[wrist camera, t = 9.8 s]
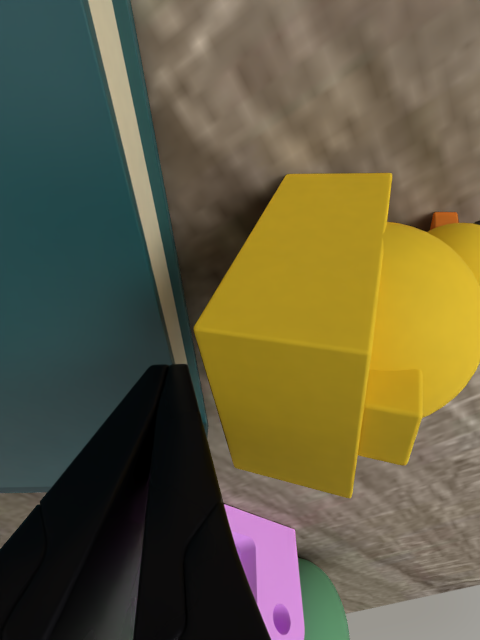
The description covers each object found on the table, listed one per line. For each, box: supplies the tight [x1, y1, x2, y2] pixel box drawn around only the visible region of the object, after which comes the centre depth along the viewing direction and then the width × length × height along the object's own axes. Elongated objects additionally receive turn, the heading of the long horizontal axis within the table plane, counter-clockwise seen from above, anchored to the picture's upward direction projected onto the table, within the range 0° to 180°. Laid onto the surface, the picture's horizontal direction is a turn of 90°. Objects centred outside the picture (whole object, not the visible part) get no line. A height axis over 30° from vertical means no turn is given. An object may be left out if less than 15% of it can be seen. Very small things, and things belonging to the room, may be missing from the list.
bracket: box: [224, 504, 305, 640], centre depth 22 cm, size 13×6×7 cm, turn 49°
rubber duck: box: [193, 173, 480, 498], centre depth 9 cm, size 7×4×6 cm
